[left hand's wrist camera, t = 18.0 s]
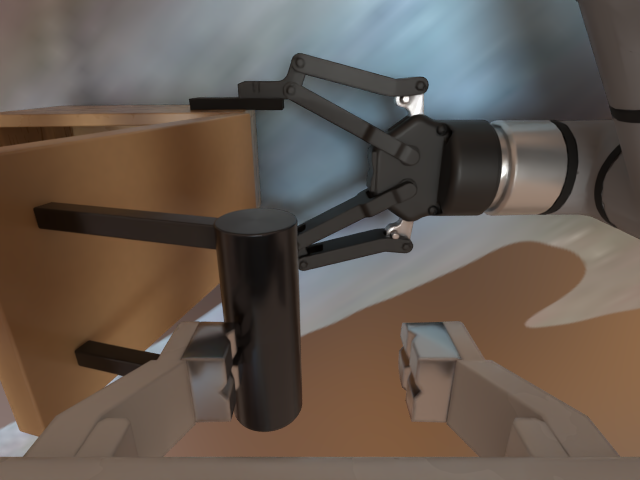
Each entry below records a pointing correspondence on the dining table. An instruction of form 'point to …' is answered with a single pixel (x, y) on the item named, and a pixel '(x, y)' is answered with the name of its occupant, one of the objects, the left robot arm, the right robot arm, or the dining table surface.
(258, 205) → the chest
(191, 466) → the left robot arm
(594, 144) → the right robot arm
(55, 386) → the lid
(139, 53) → the dining table surface
